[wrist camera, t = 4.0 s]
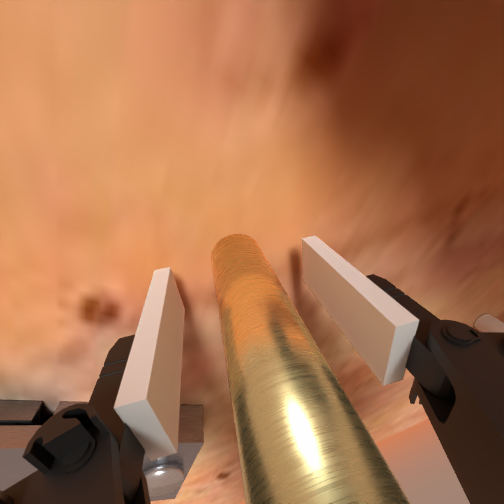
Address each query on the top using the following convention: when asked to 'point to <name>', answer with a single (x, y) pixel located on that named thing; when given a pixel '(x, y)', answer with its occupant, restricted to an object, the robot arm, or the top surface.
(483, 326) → the pipe connector
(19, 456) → the chain end
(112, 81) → the top surface
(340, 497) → the pin
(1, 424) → the bar
